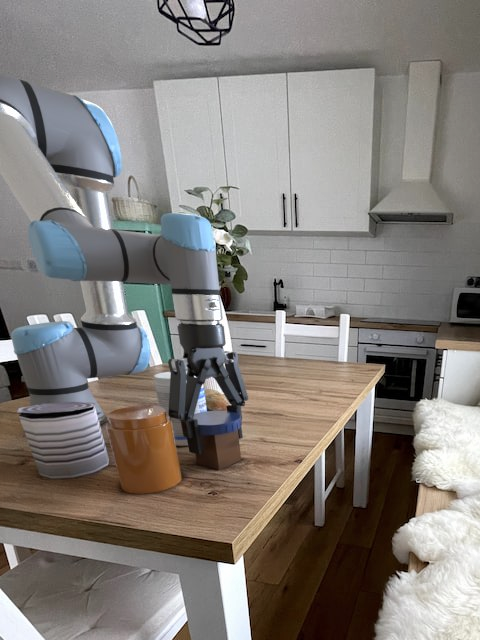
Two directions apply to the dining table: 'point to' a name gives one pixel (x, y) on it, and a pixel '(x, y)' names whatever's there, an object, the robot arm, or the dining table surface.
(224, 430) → the lid
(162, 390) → the supplement tub
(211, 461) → the cube
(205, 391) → the bread roll
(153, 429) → the jar
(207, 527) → the dining table surface
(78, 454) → the can
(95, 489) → the dining table surface
